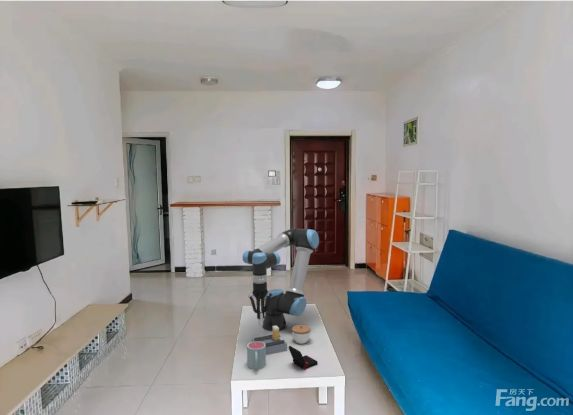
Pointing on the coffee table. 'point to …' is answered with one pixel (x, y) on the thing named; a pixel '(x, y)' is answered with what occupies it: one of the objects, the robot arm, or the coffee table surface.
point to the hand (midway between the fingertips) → (260, 324)
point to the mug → (256, 355)
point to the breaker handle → (275, 333)
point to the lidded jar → (301, 333)
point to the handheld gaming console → (302, 359)
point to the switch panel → (272, 344)
